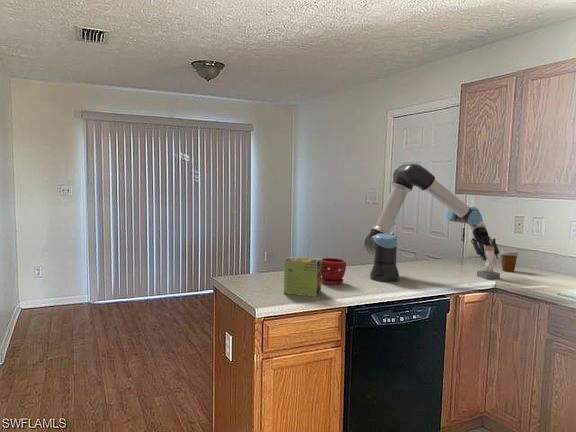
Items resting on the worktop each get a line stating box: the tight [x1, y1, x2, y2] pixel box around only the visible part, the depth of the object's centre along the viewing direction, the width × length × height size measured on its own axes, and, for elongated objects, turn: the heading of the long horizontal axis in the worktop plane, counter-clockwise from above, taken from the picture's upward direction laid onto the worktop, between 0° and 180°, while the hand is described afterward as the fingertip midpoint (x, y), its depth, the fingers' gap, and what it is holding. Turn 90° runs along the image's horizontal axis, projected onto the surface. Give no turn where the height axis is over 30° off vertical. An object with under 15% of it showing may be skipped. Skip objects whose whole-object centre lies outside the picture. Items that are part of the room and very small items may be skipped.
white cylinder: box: [484, 246, 494, 273], centre depth 237 cm, size 4×4×16 cm
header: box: [476, 269, 501, 280], centre depth 238 cm, size 8×8×4 cm
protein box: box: [283, 256, 322, 297], centre depth 201 cm, size 10×15×16 cm
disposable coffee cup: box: [499, 249, 519, 273], centre depth 262 cm, size 10×10×12 cm
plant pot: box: [321, 257, 347, 286], centre depth 222 cm, size 13×13×12 cm
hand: (492, 265), depth 233 cm, fingers closed on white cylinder, 4 cm apart
